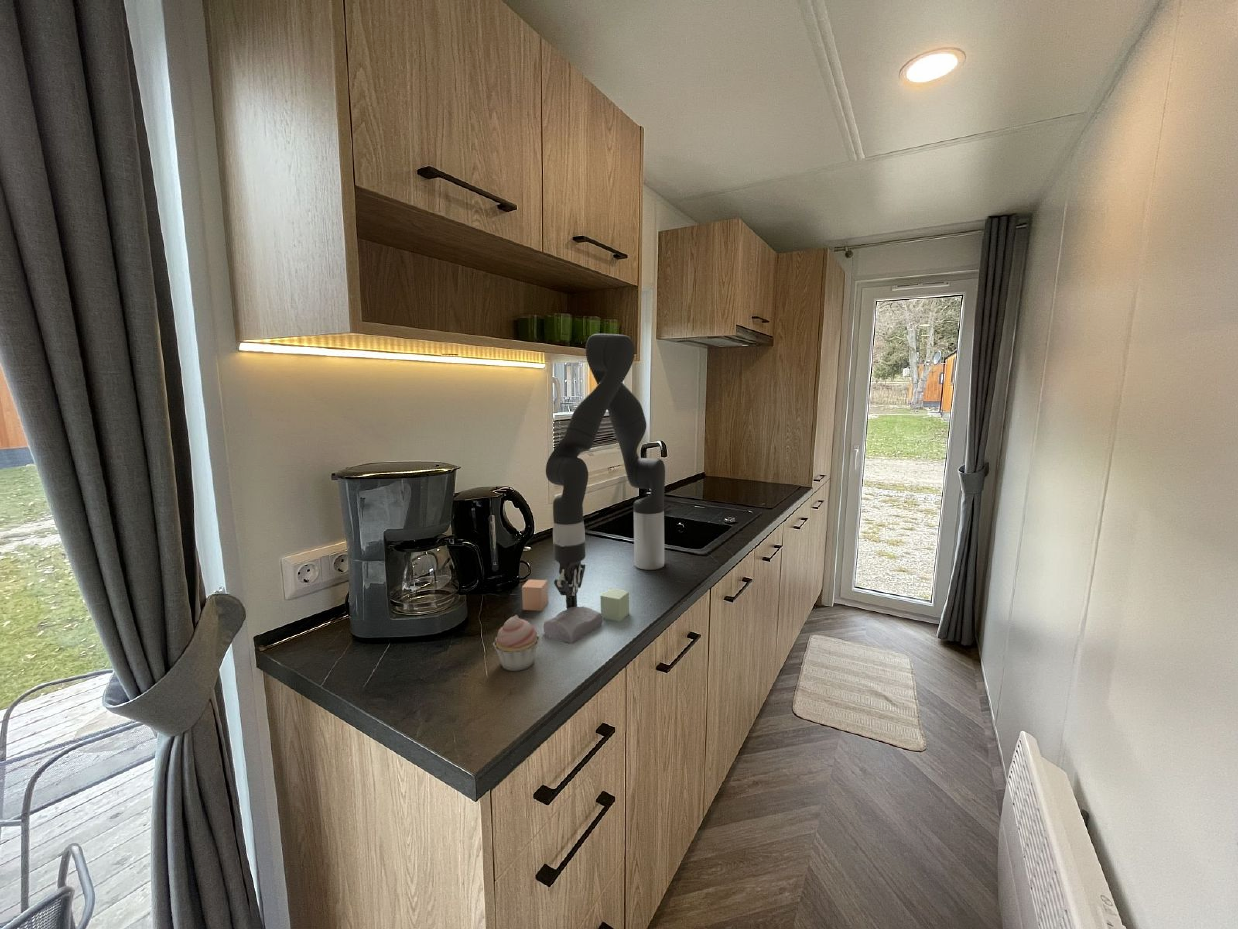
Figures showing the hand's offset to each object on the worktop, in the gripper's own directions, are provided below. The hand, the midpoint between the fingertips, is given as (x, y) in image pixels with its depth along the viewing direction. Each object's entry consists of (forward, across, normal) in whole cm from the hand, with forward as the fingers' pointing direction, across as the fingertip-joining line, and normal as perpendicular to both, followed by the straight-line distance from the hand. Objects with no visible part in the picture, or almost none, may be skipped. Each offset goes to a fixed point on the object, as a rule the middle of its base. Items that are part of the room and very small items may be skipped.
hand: (571, 608), depth 121 cm
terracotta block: (+2, -2, -11) cm, 11 cm away
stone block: (+2, +7, +3) cm, 8 cm away
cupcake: (+2, +23, -1) cm, 23 cm away
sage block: (+2, -3, +10) cm, 11 cm away
